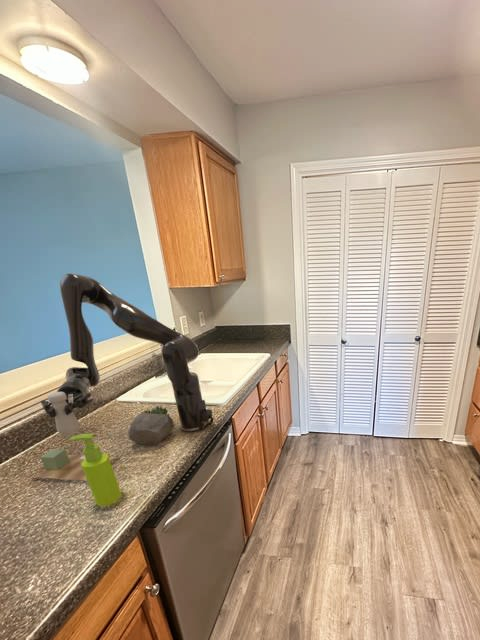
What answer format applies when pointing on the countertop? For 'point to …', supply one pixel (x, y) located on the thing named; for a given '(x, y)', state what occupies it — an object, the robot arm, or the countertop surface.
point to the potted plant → (151, 426)
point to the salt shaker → (63, 415)
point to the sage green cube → (55, 459)
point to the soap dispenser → (98, 472)
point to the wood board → (68, 470)
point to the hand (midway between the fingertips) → (59, 413)
